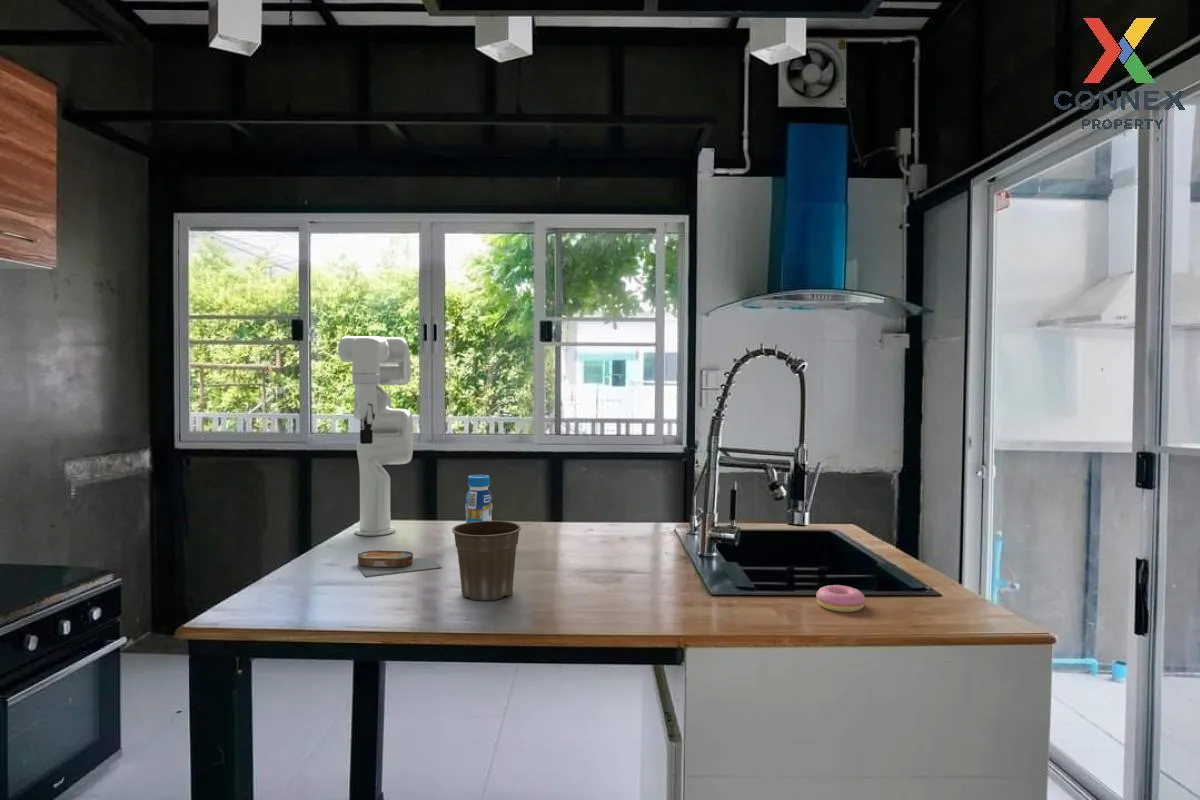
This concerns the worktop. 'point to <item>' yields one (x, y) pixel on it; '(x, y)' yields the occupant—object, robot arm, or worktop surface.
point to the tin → (385, 558)
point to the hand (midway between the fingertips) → (366, 443)
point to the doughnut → (840, 598)
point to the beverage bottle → (478, 499)
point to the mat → (414, 566)
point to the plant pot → (486, 558)
